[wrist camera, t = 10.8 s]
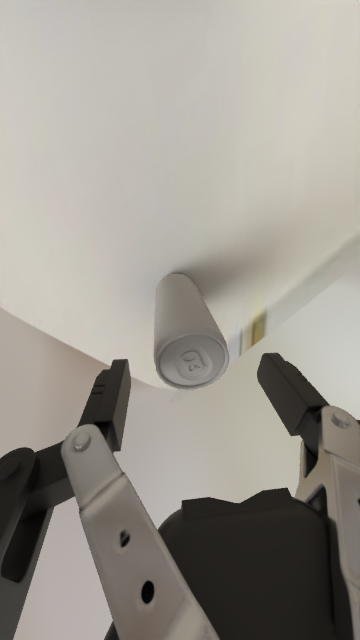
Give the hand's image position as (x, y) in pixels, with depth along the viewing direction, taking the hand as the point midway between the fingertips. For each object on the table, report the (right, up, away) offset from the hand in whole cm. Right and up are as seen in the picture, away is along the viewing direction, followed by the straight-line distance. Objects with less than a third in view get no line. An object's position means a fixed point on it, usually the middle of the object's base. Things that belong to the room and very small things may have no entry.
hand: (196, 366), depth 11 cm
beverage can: (-1, +6, +11) cm, 13 cm away
